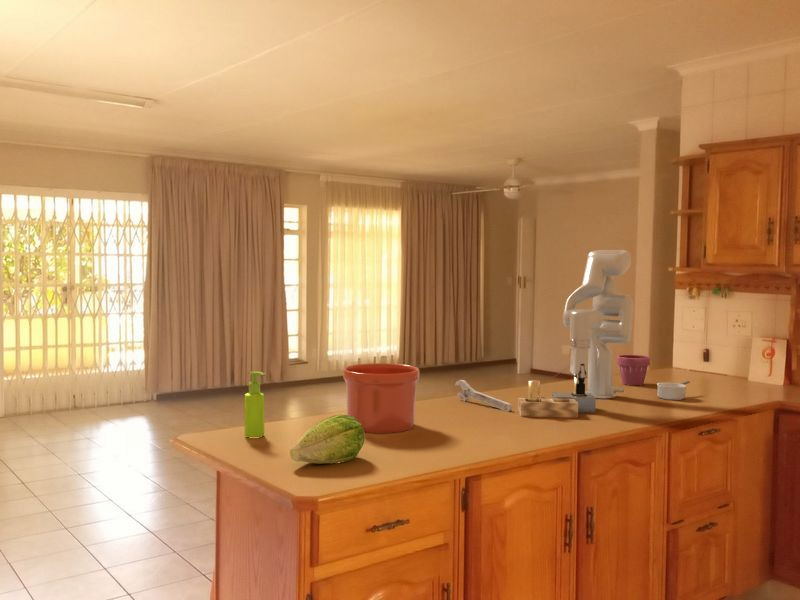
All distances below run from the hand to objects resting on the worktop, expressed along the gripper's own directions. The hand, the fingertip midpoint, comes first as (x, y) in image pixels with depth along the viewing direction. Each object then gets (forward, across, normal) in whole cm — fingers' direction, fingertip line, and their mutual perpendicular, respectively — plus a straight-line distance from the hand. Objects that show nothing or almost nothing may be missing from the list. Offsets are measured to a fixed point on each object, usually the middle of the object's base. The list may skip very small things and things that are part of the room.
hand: (579, 392), depth 264 cm
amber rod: (+6, +10, -18) cm, 22 cm away
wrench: (+7, -5, -35) cm, 36 cm away
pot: (+7, +34, -71) cm, 79 cm away
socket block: (+6, 0, -2) cm, 7 cm away
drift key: (+6, 0, -9) cm, 10 cm away
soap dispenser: (+6, +52, -108) cm, 120 cm away
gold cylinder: (+6, 0, 0) cm, 6 cm away
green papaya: (+7, +78, -82) cm, 113 cm away
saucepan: (+7, -31, +46) cm, 55 cm away
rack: (+6, +10, -13) cm, 18 cm away
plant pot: (+6, -61, +36) cm, 71 cm away
